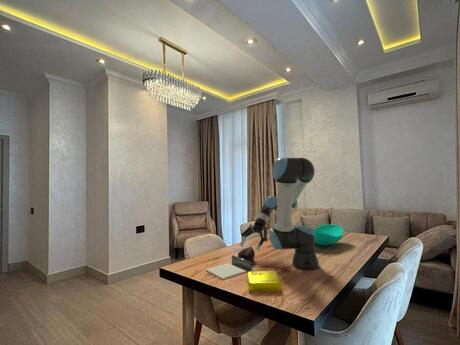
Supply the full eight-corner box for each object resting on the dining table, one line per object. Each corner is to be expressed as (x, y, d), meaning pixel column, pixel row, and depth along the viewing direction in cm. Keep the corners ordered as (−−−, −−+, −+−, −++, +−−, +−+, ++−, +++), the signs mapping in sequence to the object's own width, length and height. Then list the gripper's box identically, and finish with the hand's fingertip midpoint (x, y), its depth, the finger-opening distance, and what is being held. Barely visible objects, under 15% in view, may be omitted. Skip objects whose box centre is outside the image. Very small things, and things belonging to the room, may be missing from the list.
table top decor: (320, 237, 208) (319, 222, 209) (352, 243, 187) (351, 226, 188) (293, 245, 183) (293, 228, 184) (327, 253, 162) (326, 234, 163)
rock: (236, 263, 149) (247, 267, 142) (234, 250, 149) (245, 253, 141) (249, 256, 157) (260, 259, 149) (247, 244, 157) (258, 246, 149)
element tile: (249, 292, 107) (248, 282, 107) (247, 279, 122) (247, 270, 122) (281, 292, 106) (281, 281, 107) (276, 279, 121) (275, 269, 122)
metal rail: (252, 270, 133) (252, 261, 133) (249, 271, 132) (249, 262, 132) (234, 263, 146) (233, 254, 147) (231, 263, 145) (231, 255, 145)
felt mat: (246, 272, 130) (246, 270, 131) (222, 279, 121) (222, 278, 121) (227, 264, 144) (227, 263, 144) (205, 270, 134) (205, 269, 134)
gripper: (279, 226, 157) (267, 254, 145) (250, 222, 174) (237, 247, 162) (274, 219, 153) (261, 247, 142) (245, 216, 170) (231, 241, 159)
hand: (248, 247), depth 152 cm, fingers open, 13 cm apart
